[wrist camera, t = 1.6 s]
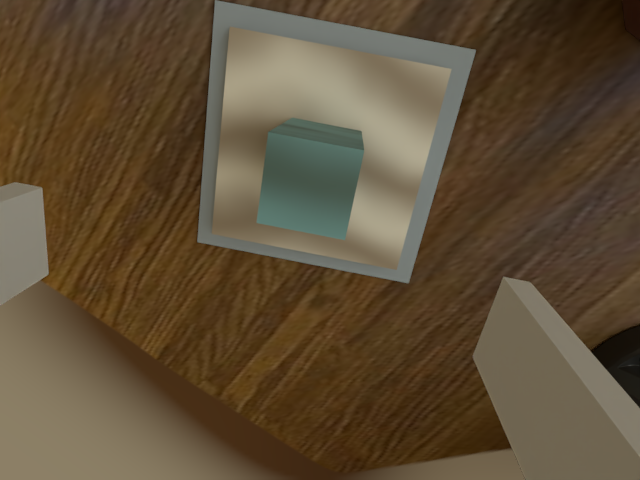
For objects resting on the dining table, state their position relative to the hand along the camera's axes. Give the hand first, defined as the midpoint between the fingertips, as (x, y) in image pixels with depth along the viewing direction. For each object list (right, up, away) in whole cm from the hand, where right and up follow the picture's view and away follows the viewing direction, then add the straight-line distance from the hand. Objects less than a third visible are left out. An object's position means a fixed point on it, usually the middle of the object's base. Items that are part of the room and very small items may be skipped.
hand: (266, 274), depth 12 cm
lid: (+2, +7, +20) cm, 21 cm away
